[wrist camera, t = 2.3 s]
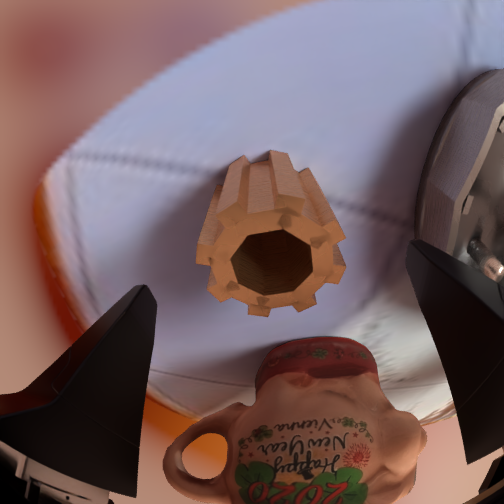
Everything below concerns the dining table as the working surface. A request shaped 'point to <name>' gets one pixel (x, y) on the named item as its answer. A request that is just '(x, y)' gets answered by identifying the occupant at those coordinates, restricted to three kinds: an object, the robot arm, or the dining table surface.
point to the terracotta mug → (308, 434)
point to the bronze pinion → (270, 237)
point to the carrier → (467, 179)
